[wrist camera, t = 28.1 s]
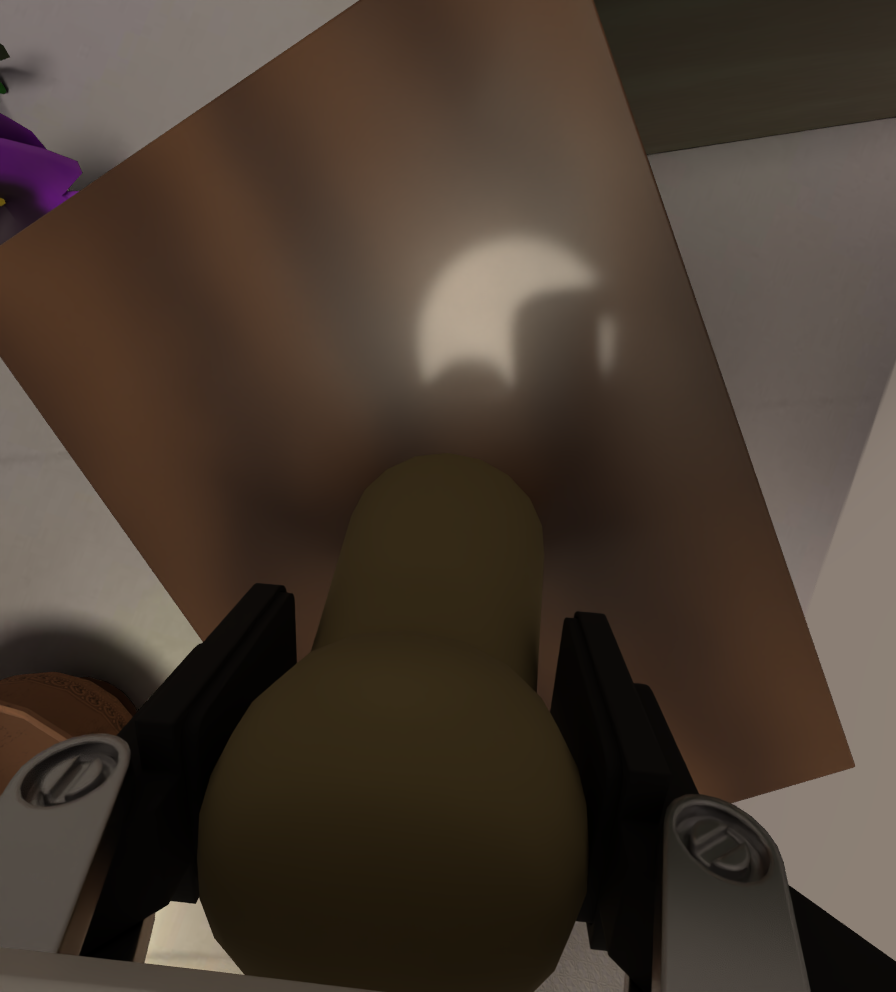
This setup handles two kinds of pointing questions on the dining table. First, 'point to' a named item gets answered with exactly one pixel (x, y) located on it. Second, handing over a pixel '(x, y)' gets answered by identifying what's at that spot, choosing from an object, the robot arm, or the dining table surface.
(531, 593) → the brown rounded tall piece
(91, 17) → the dining table surface
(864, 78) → the cupboard door
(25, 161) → the flower
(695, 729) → the cupboard
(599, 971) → the white box red top
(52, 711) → the bowl
